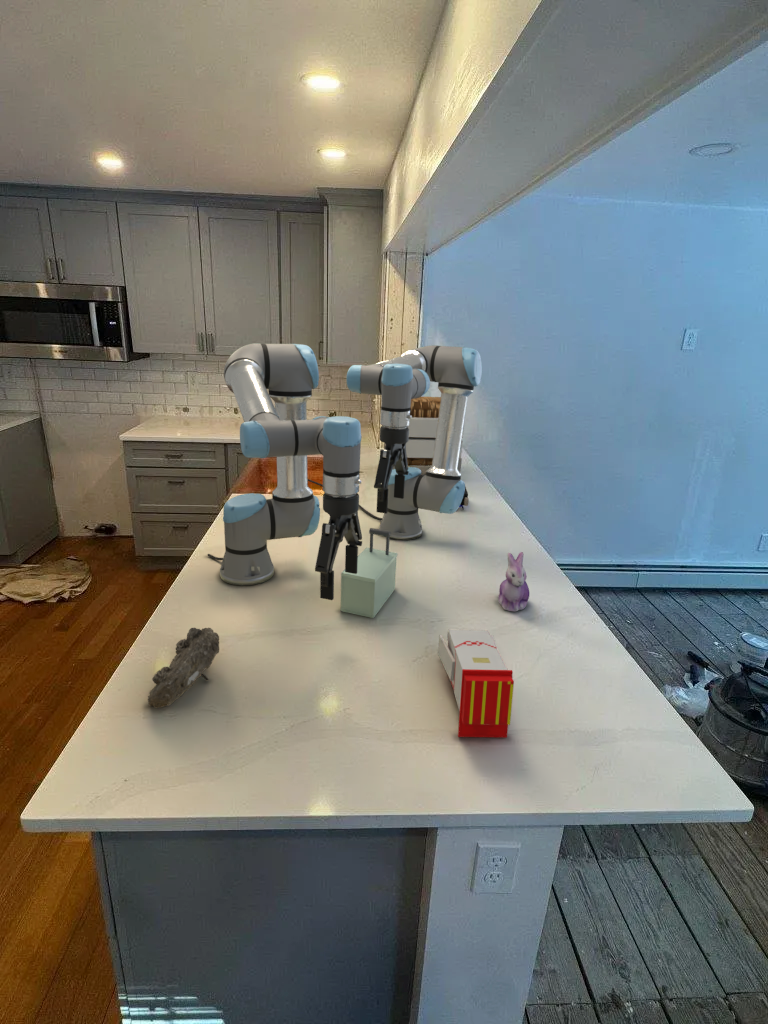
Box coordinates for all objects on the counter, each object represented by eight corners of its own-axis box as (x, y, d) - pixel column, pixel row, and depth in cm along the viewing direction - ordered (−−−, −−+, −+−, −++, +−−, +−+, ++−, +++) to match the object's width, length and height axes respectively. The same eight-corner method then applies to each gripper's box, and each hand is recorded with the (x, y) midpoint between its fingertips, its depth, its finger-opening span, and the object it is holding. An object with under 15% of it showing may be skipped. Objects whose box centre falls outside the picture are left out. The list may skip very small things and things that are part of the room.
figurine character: (468, 514, 225) (463, 498, 239) (470, 497, 222) (465, 482, 235) (451, 514, 225) (447, 498, 238) (453, 497, 222) (449, 481, 235)
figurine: (511, 616, 149) (518, 564, 143) (487, 598, 157) (493, 549, 152) (539, 609, 153) (547, 558, 148) (514, 592, 161) (521, 544, 156)
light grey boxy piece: (382, 463, 289) (386, 382, 275) (445, 464, 293) (451, 384, 279) (390, 482, 257) (394, 392, 243) (460, 483, 261) (468, 394, 247)
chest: (364, 583, 163) (365, 551, 160) (394, 589, 160) (396, 557, 157) (340, 611, 148) (341, 576, 144) (373, 618, 145) (374, 583, 142)
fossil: (174, 630, 128) (220, 599, 123) (204, 658, 131) (250, 629, 126) (125, 701, 108) (178, 668, 103) (161, 733, 111) (215, 702, 106)
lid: (366, 550, 160) (367, 524, 157) (397, 556, 157) (398, 529, 155) (341, 576, 144) (341, 547, 142) (374, 583, 141) (376, 553, 139)
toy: (488, 613, 130) (523, 677, 101) (484, 667, 133) (517, 744, 104) (435, 612, 130) (455, 676, 101) (432, 666, 133) (451, 743, 103)
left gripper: (333, 513, 105) (332, 614, 112) (378, 479, 128) (374, 565, 135) (297, 508, 107) (298, 607, 115) (347, 475, 130) (345, 560, 137)
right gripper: (392, 437, 133) (388, 521, 140) (422, 420, 155) (417, 494, 162) (362, 433, 135) (360, 516, 142) (396, 417, 157) (392, 490, 165)
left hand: (339, 584), depth 125 cm, fingers open, 13 cm apart
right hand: (390, 504), depth 152 cm, fingers open, 13 cm apart
